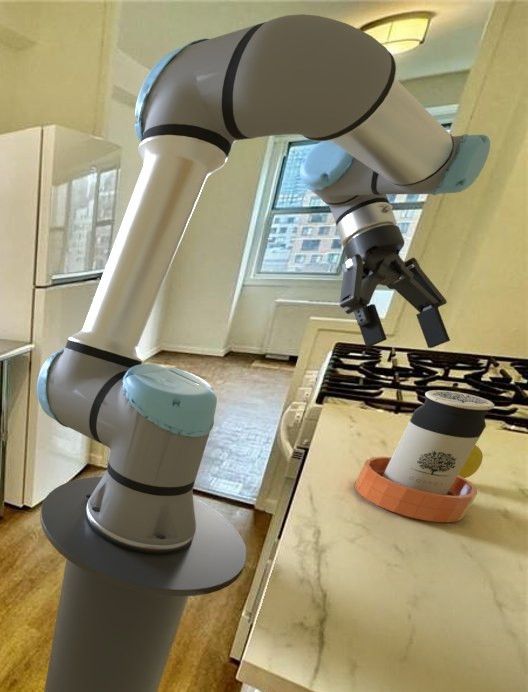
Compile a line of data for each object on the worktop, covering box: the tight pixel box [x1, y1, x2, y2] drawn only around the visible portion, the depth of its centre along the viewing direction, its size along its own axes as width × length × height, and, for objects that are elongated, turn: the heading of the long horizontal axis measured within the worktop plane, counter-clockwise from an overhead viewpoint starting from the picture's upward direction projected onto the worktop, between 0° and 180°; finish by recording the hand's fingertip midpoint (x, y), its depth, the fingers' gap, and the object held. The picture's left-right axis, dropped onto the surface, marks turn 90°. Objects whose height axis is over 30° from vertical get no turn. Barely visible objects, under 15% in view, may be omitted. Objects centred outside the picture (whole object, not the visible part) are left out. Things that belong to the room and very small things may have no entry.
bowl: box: [354, 456, 479, 523], centre depth 80 cm, size 14×14×5 cm
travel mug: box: [382, 389, 496, 495], centre depth 77 cm, size 8×8×18 cm
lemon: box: [458, 444, 484, 479], centre depth 86 cm, size 6×6×8 cm
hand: (408, 344), depth 82 cm, fingers open, 13 cm apart
